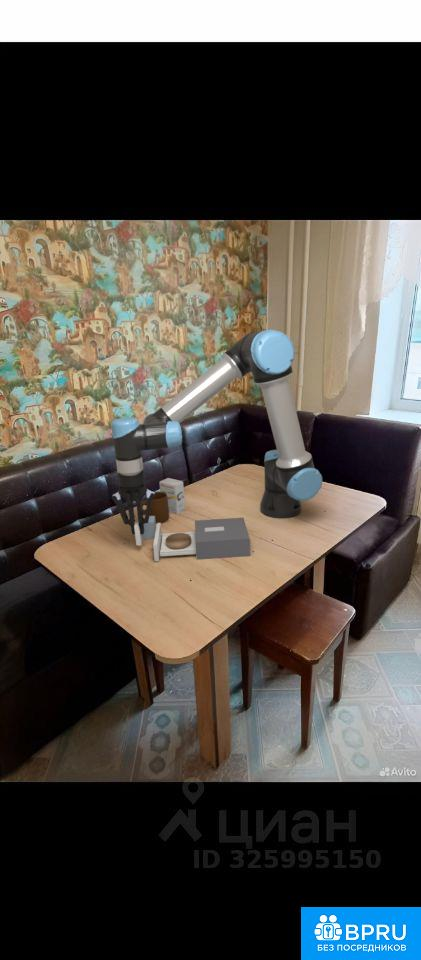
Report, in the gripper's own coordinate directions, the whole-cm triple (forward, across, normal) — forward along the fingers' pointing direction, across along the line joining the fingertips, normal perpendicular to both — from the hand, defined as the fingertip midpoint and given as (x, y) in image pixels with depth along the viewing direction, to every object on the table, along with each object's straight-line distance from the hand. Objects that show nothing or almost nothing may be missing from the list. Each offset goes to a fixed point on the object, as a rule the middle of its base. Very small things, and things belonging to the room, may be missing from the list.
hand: (139, 543), depth 126 cm
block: (+3, -2, -10) cm, 11 cm away
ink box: (+3, -9, -31) cm, 33 cm away
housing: (+3, -26, 0) cm, 26 cm away
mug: (+3, -3, -22) cm, 22 cm away
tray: (+3, -13, 0) cm, 13 cm away
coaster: (+1, -12, 0) cm, 12 cm away
